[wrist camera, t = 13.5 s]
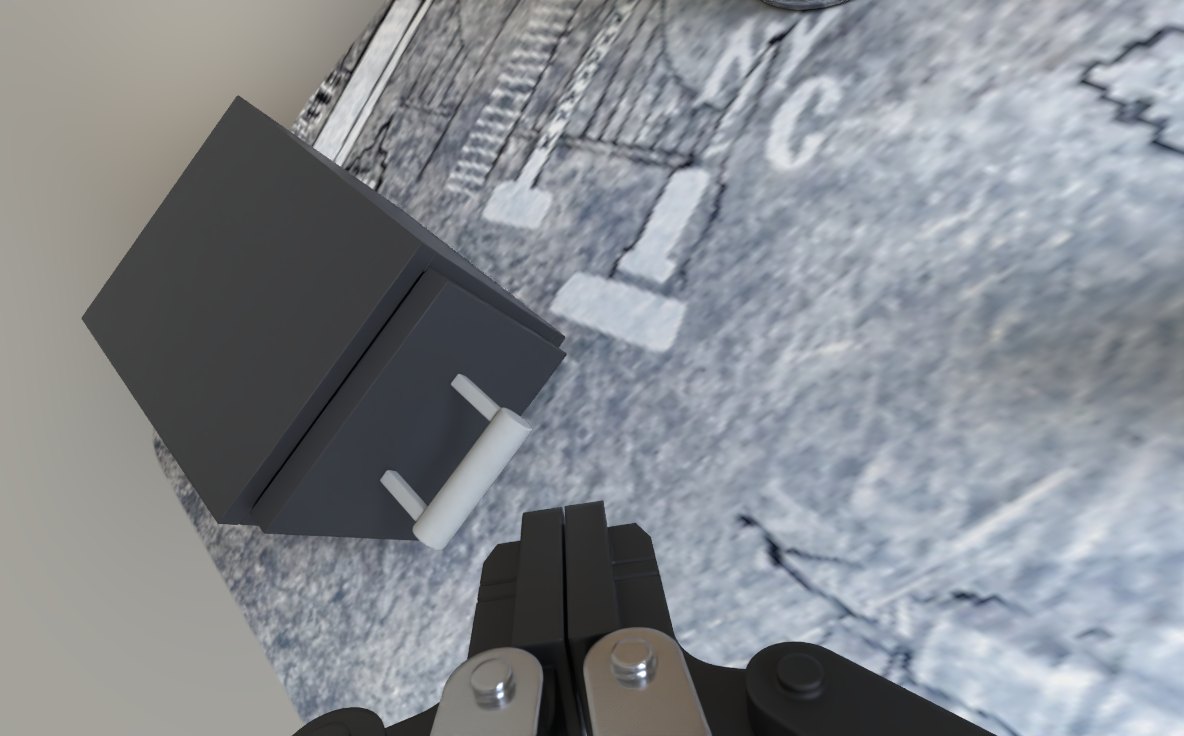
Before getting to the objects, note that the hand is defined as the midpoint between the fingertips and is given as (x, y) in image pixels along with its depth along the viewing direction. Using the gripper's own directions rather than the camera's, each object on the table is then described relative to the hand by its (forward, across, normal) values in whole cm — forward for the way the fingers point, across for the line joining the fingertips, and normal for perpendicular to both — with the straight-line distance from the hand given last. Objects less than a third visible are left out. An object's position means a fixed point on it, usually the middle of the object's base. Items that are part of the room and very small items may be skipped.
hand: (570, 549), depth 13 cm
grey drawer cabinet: (+26, +9, +4) cm, 28 cm away
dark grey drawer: (+23, +7, +5) cm, 25 cm away
